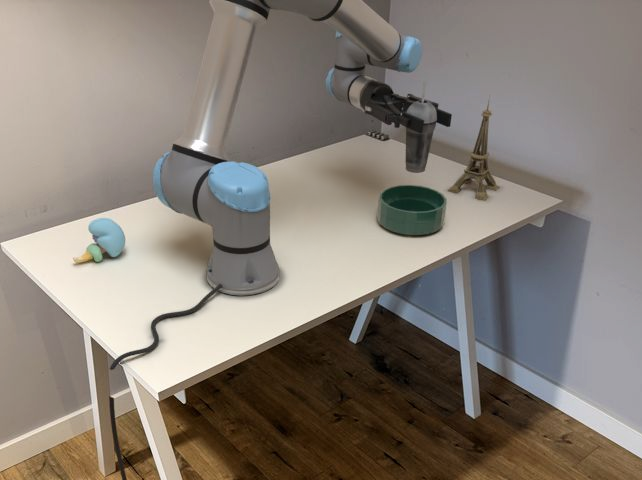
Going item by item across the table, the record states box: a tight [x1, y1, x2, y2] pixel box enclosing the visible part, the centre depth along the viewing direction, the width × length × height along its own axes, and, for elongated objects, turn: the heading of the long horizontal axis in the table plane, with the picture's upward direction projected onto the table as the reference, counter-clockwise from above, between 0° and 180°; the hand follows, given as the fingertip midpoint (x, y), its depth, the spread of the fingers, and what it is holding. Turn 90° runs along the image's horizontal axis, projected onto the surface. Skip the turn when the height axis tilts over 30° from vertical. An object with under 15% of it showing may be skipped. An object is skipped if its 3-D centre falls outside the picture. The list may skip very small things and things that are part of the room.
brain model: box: [72, 217, 126, 264], centre depth 147 cm, size 7×9×12 cm
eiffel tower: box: [447, 95, 500, 201], centre depth 176 cm, size 11×11×25 cm
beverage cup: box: [405, 80, 437, 174], centre depth 151 cm, size 7×7×20 cm
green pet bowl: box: [376, 184, 447, 236], centre depth 164 cm, size 16×16×6 cm
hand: (436, 123), depth 147 cm, fingers closed on beverage cup, 7 cm apart
